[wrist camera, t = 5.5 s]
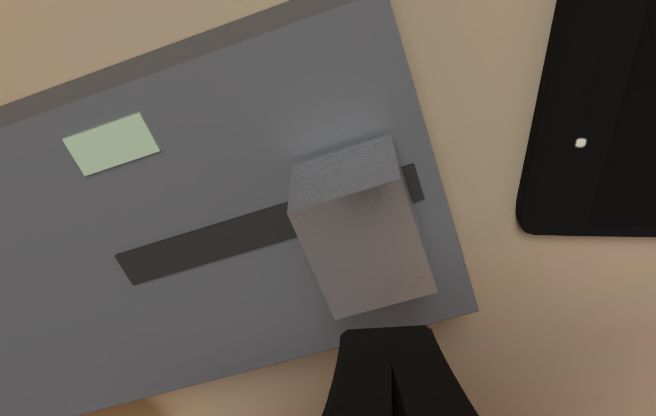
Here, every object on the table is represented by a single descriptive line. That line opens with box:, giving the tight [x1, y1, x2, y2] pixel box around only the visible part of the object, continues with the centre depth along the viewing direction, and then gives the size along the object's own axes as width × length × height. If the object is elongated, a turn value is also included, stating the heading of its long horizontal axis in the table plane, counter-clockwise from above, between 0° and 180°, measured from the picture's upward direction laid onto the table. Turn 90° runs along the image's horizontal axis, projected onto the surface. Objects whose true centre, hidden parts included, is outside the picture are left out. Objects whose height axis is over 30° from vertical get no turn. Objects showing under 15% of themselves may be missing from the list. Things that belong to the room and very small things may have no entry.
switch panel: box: [0, 0, 479, 416], centre depth 18 cm, size 24×9×3 cm, turn 109°
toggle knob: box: [287, 133, 438, 320], centre depth 14 cm, size 2×3×2 cm
